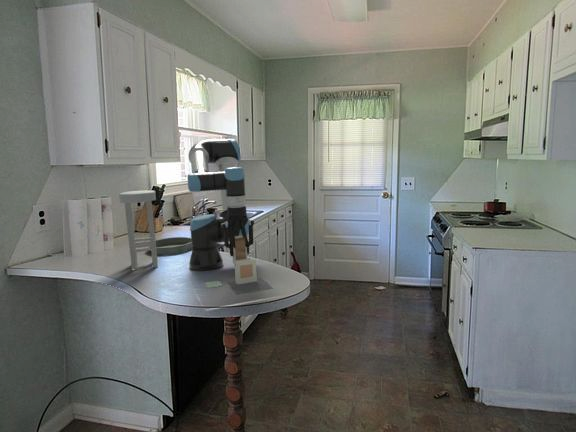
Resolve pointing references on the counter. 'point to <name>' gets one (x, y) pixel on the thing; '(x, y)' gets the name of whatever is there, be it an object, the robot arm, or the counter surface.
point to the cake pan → (173, 245)
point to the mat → (250, 286)
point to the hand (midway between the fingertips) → (240, 262)
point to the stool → (128, 199)
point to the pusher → (240, 247)
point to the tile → (245, 271)
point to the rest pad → (213, 284)
